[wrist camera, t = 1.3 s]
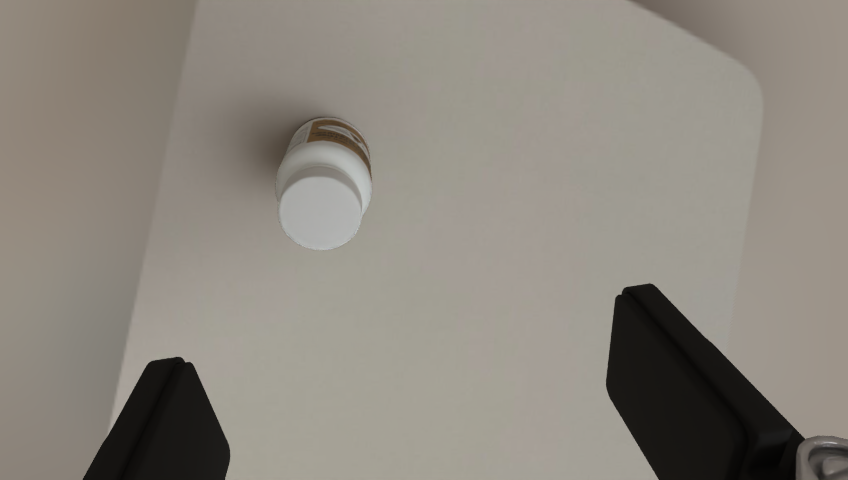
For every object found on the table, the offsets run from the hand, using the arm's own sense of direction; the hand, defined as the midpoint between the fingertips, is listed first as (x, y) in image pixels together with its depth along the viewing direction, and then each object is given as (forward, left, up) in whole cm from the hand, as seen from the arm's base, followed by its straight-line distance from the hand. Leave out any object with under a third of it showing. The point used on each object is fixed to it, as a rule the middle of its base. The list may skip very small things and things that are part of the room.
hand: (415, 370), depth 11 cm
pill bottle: (-3, -2, -18) cm, 19 cm away
